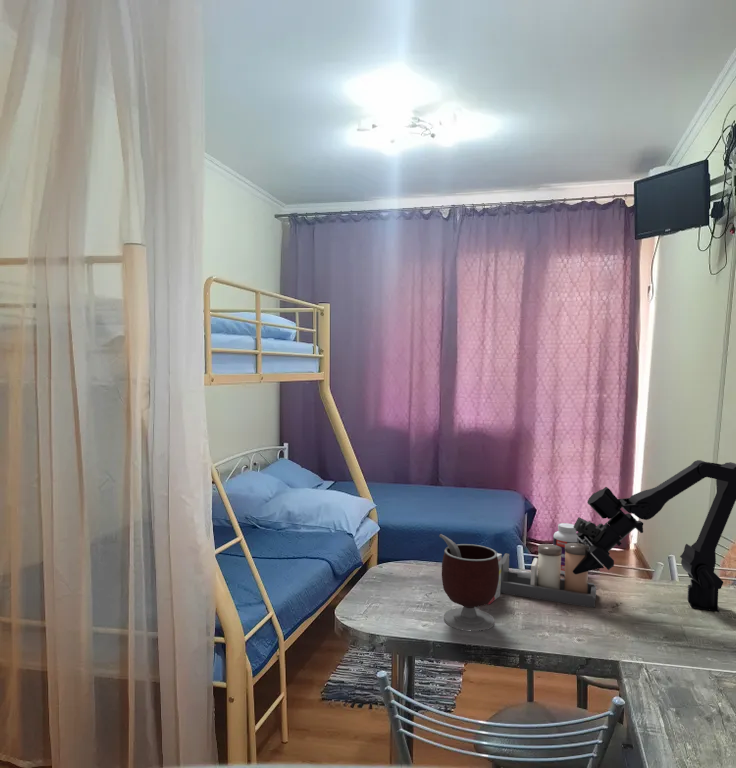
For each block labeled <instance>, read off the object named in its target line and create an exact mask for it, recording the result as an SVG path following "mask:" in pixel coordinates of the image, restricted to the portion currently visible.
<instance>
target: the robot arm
mask: <svg viewBox="0 0 736 768" xmlns="http://www.w3.org/2000/svg"><path fill="white" fill-rule="evenodd" d="M705 478H709V479H715V482H716V483H715V485H716V493H715V496H714V498H713V500H712V503H711V506H710V507H709V510H708V512H707V516H705V517H706V518H705V520H704V523H703V524H702V528H701V529H700V532H699V535H698V538H697V539H696V541H695V542H693V544H692V545H689V544H688V543H686V544H685V545H684V549H683V552H682V553H681V555H680V556H679V558H681V561H680V564H681V567H682V569H683V570H684V571H685V572H687V575H688V577H689V578H690V584H688V585H687V598H686V599H687V602H688V604H689V607H690V608H691V609H692V608H693V609H697V610H703V611H704V610H705V611H711V612H717V613H719V612H720V609H719V607H718V606H719V590H721V589H722V587H723V585H724V581H723V580H722V579H721V578H720V577H719V576H718V574H716V573H715V569H716V568H715V567H716V563H717V561H716V560H717V559H716V549H717V546H718V544H719V542H720V540H721V537H722V535H723V533H724V531H725V527H726V525H727V523H728V520H729V518H730V516H731V513H732V511H733V508H734V505H735V504H736V463H735V462H725V463H722V464H721V463H717V462H708V461H704V460H702V459H697V460H695V461H692V463H691V464H690V465H689V466H686V467H685V468H683V469H682V470H680V471H679V472H677V473H675V474H673V476H671V477H669V478H668V479H666V480H665V481H663V482H662V483H660V484H658V485H656V486H655V487H652V488H649V489H644V490H642V491H639V492H637V493H635V494H633V495H631V496H629V497H625V498H617V496H616V495H615V494H614V493H613V490H611V489H610V488H609V487H607V486H605V487H604V488H603V489H599V490H597V491H596V492H594V493H592V495H590V496H589V498H588V499H587V504H588V505H589V506H590V508H591V509H593V510H594V511H595V512H596V513H597V514H598V515H599V516H600V518H602V519H604V520H605V519H608V520H607V521H606V523H604V524H603V523H599V524H598V525H596V523H595V522H592V521H590V520H589V521H588V520H585V519H583V518H581V517H577V519H576V521H575V524H573V525H574V528H575V530H576V531H577V532H576V533H577V536H578V537H579V538H581V539H580V540H579V539H578V538H577V542H578V543H580V544H585V545H587V546H589V551H588V550H587V549H585V557H584V558H583V559H582V560H581V561H580V563H579V564H578V565H577V566H576V567H575V569H574V570H573V573H574V574H579V573H583V572H587V571H588V572H589V571H594V570H599V569H605V568H606V569H607V570H608V571H610V570H611V569H612V568H613V567H614V566H615V560H614V559H613V558H612V556H611V553H610V551H611V550H612V549H613V548H614V547H615V546H619V547H620V546H621V545H622V542H621V541H623V540H624V538H626V537H627V536H628V535H630V534H631V532H633V531H634V530H635V529H636V530H637V531H638V532H640V534H643V533H644V522H643V521H642V520H645V521H648V520H650V519H652V518H653V517H655V516H656V515H657V514H658V513H659V512H661V510H662V509H663V507H664V506H665V504H666V503H668V502H669V501H670V500H672V499H673V498H674V497H677V496H678V495H680V494H681V493H684V491H686V490H687V489H689V488H691V487H692V486H694V485H695V484H698V483H699V482H700V481H702V480H703V479H705ZM622 509H623V510H624V511H626V512H627V513H625V512H623V511H622ZM633 515H634V516H635V517H637V518H638V519H639V520H637V519H636V518H635V517H634V516H633Z"/></svg>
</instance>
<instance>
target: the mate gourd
mask: <svg viewBox="0 0 736 768" xmlns="http://www.w3.org/2000/svg"><path fill="white" fill-rule="evenodd" d="M439 538H441V539H442V540H444V542H445V543H446V545H447V547H445V548H444V553H443V555H442V556H443V557H442V560H441V561H442V563H441V581H442V587H443V591H444V593H445V594H446V595H447V597H448V599H449V600H450V601H451V602H453V603H455V604H457V605H459V606H461V607H456V608H452V609H449V610H447V611H446V612H444V614H443V621H444V623H446V625H448V626H449V627H451V628H453V629H456V628H457V630H459V629H463V630H462V631H464V630H471V631H470V632H482V631H481V630H483V631H486V630H485V629H487V630H489V628H490V629H491V628H493V626H494V625H495V619H494V616H493V615H491V614H490V613H489V612H486V611H484V610H482V609H481V610H480V609H476V608H477V607H482V606H485V605H487V604H488V603H489V602H490V601H491V599H492V598H493V597H494V596H495V594H496V591H497V587H498V581H499V564H498V558H497V553H498V551H496V550H495V549H493V548H491V547H487V546H484V545H479V544H473V543H471V544H470V543H460V544H459V543H458V544H456V542H454V541H453V540H452V539H450V538H449V537H447V536H446V535H443V533H440V534H439ZM479 630H480V631H479Z"/></svg>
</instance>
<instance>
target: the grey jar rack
mask: <svg viewBox="0 0 736 768" xmlns="http://www.w3.org/2000/svg"><path fill="white" fill-rule="evenodd" d="M517 572H518V571H513V570H510V553H504V555H503V556H502V559H501V585H500V594H507V595H513V596H517V597H523V598H524V597H525V598H532V599H537V600H543V601H550V602H556V603H561V604H567V605H568V604H569V605H575V606H580V607H581V606H582V607H587V608H592V607H593V609H594V608H596V598H597V585H595V583H594V582H588V592H587V594H585V593H579V592H572V591H566V590H564V582H565V578H561V577H560V590H559V589H553V588H546V587H540V586H533V585H530V583H531V579H528V578H521V577H517ZM537 585H538V575H537Z"/></svg>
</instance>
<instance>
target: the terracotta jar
mask: <svg viewBox="0 0 736 768" xmlns="http://www.w3.org/2000/svg"><path fill="white" fill-rule="evenodd" d="M585 549H587V550H588V551H589V546H587V545H585V544H580V543H567V544H565V575H564V579H565V582H564V590H566V591H572V592H579V593H585V594H587V592H588V583H589V582H588V581H589V571H587V572H583V573H579V574H574V573H573V570H574V569H575V567H576V566H577V565H578V564H579V563H580V561H581V560H582V559H583V558H584V557H585Z"/></svg>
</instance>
